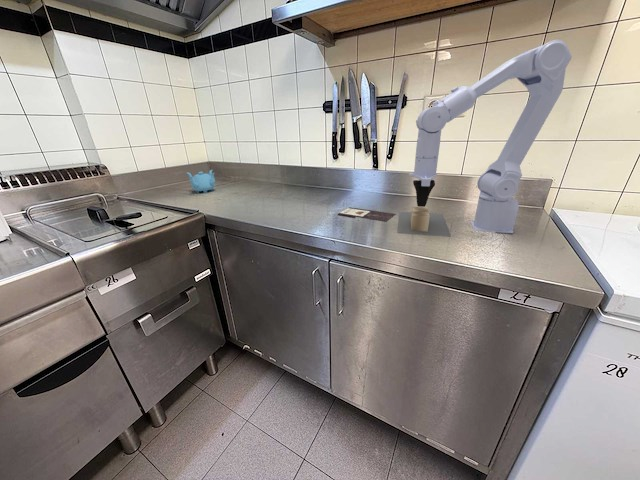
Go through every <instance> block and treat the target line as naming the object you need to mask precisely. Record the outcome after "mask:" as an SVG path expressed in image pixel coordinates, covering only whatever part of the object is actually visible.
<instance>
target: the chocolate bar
mask: <svg viewBox="0 0 640 480" xmlns="http://www.w3.org/2000/svg"><path fill="white" fill-rule="evenodd" d="M396 215H397V214H396V213H392V212H385V211H378V210H371V209H365V208H357V207H348V208H346V209H344V210H342V211H340V212H338V213H337V216H340V217H347V218H351V219H356V218H358V219H359V218H361V219H367V220H372V221H377V222H379V221H380V222H384V223H387V222H389V220H391V219H392V218H393V217H394V216H396Z"/></svg>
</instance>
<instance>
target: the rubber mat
mask: <svg viewBox="0 0 640 480" xmlns="http://www.w3.org/2000/svg"><path fill="white" fill-rule="evenodd" d="M398 213H399V214H398V221H397V222H398V223H397V234H404V235H405V234H406V235H419V236H422V235H423V236H434V237H446V238H447V237H450V238H451V237H452V235H451V233H450V232H451V231H450V230H449V228H448V224H447V222H446V219H445V216H444V214H443V213H437V212H436V213H433V212H429V216H430V217H429V225H428V231H413V230H411V213H412V211H411V212H409V211H399V212H398Z"/></svg>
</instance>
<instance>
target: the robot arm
mask: <svg viewBox="0 0 640 480" xmlns="http://www.w3.org/2000/svg"><path fill="white" fill-rule="evenodd" d="M572 57H573V56H572V54H571V52H570V49H569V47H568V44H567V43H566V41H563V40H562V39H554V40H550V41H548V42H547V43H544V44H542V45H540V46H537V47H535V48H532V49H529V50H528V49H527V50H526V51H523V52H522V53H520V54H519V55H516V56H514V57H512V58H510V59H509V60H507V61H505V62H503V63H502V64H501V65H499V66H498V67H497V68H495V69H493V70H492V71H491V72H490V73H489V72H488V74H487V75H485V76H483V77H481V79H479V80H477V82H474V83H473V84H472V85H470V86H465V85H462V86H460V87H458V86H455V87H454V88H452V89H451V90H450V93H449V94H448V95H446V96H444V97H443V98H441V99H440V100H435V101H433V102H432V105H433V106H431V107H428V108H427V107H426V109H424V110H422V111H421V112H420V113H419V114H418V117H417V120H416V121H415V123H416V127H417V129H418V132H417V139H416V146H415V147H416V148H415V160H414V169H413V172H410V173H409V176H408V177H413V178H414V180H413V181H412V183H413V186H414V189H415V193H416V207H427V203H428V200H429V196H430V194H431V192H432V190H433V188H434V187H435V186H436V183H435V178H437V177H438V176H437V175H438V174H437V170H438V169H437V168H438V163H439V162H438V161H439V154H440V153H439V152H440V145H441V136H442V130H444V128H445V127H446V124H447V123H450V122H451V121H453V120H454V119H456V118H458V117H459V116H461V115H462V114H464V113H466V112H467V111H469V110H470V109H472V108H473V107H474V105H475V103H476V100H477V99H478V98H479V97H481V96H483V95H485V94H486V93H488V92H490V91H491V90H493V89H495V88H496V87H498V86H500V85H502V84H503V83H505V82H506V81H508V80H514V79H516V80H518V81H519V82H520V83H521V84H522V85H523V86H524V87H525V88H526V90H527V92H528V93H529V95H530V97H529V98H528V100H527V103H526V105H525V106H524V108H523V109H522V112H521V114H520V116H519V117H518V120H517V122H516V123H515V126H514V128H512V131H511V133H510V134H509V136H508V139H507V140H506V143H505V145H504V146H503V148H502V150H501V151H500V154H499V156H498V157H497V159H496V160H495V161H494V162H492V163H491V164H489V166H488V168H486V170H485V171H484V173H482V174H481V175H480V176H479V178H478V179H477V188H478V190H479V195H478V200H477V205H476V209H475V216H474V220H470V221H469V223H470V224H471V227H473V229H474V231H479V232H493V233H494V232H495V233H499V234H514V228H515V224H516V220H517V216H518V213H519V201H518V200H517V198H513V197H514V196H515V195H516V194H517V192H518V190H519V184H520V180H521V178H522V176H523V174H522V169H521V166H522V165H521V164H522V162H523V161H524V159H525V157H526V155H527V154H528V153H529V150H530V149H531V147H532V145H533V144H534V141H535V140H536V138H537V136H538V134H539V133H540V131H541V130H542V127H544V126H543V125H544V124H545V122H546V120H547V118H548V117H549V115H550V113H551V111H552V110H553V108H554V107H555V105H556V104H557V101H558V99H559V98H560V96H561V94H562V92H563V90H564V82H565V77H566V76H565V75H566V69H567V67H568V65H569V63H570V61H571V60H572Z"/></svg>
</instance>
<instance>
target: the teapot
mask: <svg viewBox="0 0 640 480" xmlns="http://www.w3.org/2000/svg"><path fill="white" fill-rule="evenodd" d="M197 173H198V174H194V175H192V174H191V172H186V174H187V176H188V178H189V181H190V185H191V189H192V190H194V191H195V193H197V194H199V193H200V192H203V193H204V194H207V193H208V191H210V192H211V191H213V192H214V188H215V186H216V179H215V173H216V172H213V169H211V170H209V171H208V173H204V171H198V172H197Z"/></svg>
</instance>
